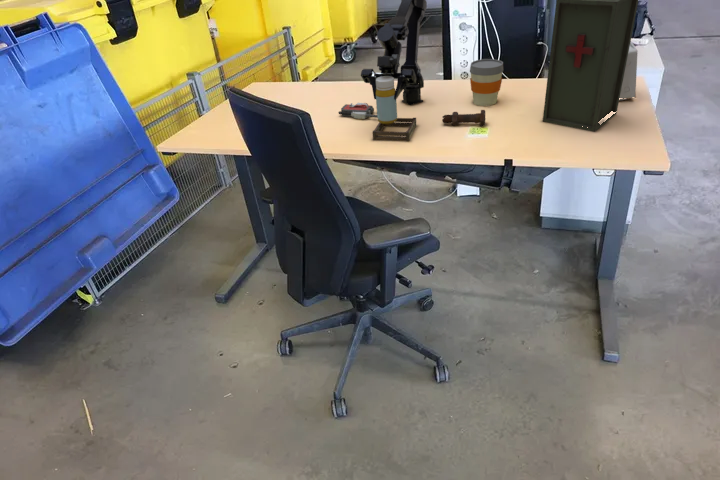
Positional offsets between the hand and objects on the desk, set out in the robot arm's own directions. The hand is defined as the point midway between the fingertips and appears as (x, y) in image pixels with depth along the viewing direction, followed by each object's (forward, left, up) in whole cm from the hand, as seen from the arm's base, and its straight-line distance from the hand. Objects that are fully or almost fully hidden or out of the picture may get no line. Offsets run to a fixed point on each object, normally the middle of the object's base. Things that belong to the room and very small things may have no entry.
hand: (384, 99), depth 178 cm
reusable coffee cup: (-47, -3, -13) cm, 49 cm away
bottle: (-1, -1, -9) cm, 9 cm away
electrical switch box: (-85, +23, -13) cm, 89 cm away
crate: (-3, 0, -13) cm, 14 cm away
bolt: (-26, +10, -13) cm, 31 cm away
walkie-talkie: (-3, -23, -13) cm, 27 cm away
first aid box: (-60, +32, -13) cm, 70 cm away
